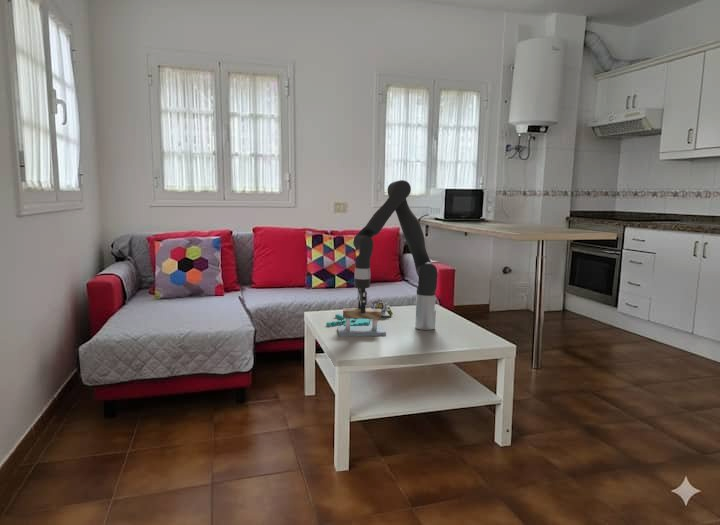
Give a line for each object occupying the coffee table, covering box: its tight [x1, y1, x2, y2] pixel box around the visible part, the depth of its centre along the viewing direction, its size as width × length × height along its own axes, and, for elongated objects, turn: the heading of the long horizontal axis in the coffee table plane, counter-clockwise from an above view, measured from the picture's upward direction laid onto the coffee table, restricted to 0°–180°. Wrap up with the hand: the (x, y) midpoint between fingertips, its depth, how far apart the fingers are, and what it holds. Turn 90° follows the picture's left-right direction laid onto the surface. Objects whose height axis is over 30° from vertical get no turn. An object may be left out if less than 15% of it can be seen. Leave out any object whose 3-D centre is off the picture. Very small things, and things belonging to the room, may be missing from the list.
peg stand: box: [336, 318, 387, 337], centre depth 233 cm, size 22×12×8 cm, turn 98°
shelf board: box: [342, 307, 382, 320], centre depth 232 cm, size 18×6×4 cm, turn 91°
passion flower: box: [370, 298, 394, 318], centre depth 265 cm, size 11×11×12 cm
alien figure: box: [326, 313, 372, 328], centre depth 250 cm, size 20×2×20 cm
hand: (361, 311), depth 232 cm, fingers open, 7 cm apart
